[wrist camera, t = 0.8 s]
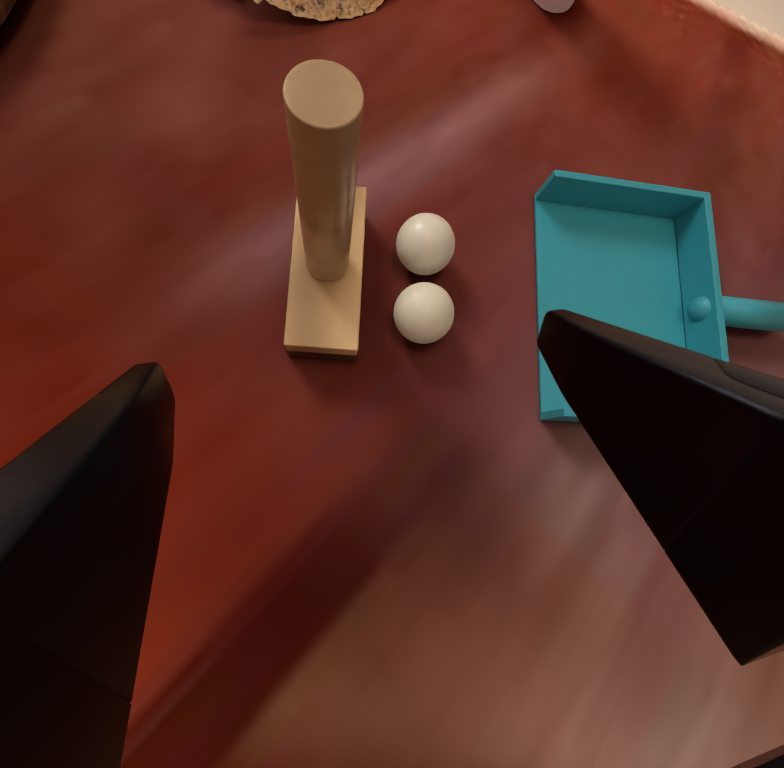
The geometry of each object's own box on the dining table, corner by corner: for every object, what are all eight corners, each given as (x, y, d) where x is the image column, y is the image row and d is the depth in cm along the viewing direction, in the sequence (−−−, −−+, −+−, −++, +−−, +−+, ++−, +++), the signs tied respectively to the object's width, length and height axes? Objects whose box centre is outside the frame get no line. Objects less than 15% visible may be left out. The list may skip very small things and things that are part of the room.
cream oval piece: (455, 272, 26) (474, 244, 23) (408, 293, 26) (420, 267, 22) (429, 225, 27) (444, 191, 23) (382, 245, 26) (390, 212, 22)
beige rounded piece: (454, 336, 26) (474, 317, 22) (406, 359, 25) (418, 344, 21) (428, 287, 26) (443, 261, 22) (379, 309, 25) (387, 286, 22)
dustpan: (540, 420, 25) (564, 416, 23) (533, 195, 28) (554, 169, 26) (784, 433, 28) (831, 431, 25) (756, 226, 31) (796, 205, 28)
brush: (363, 212, 26) (396, -29, 13) (355, 361, 24) (383, 256, 11) (301, 205, 25) (269, -56, 12) (288, 356, 24) (236, 239, 11)
